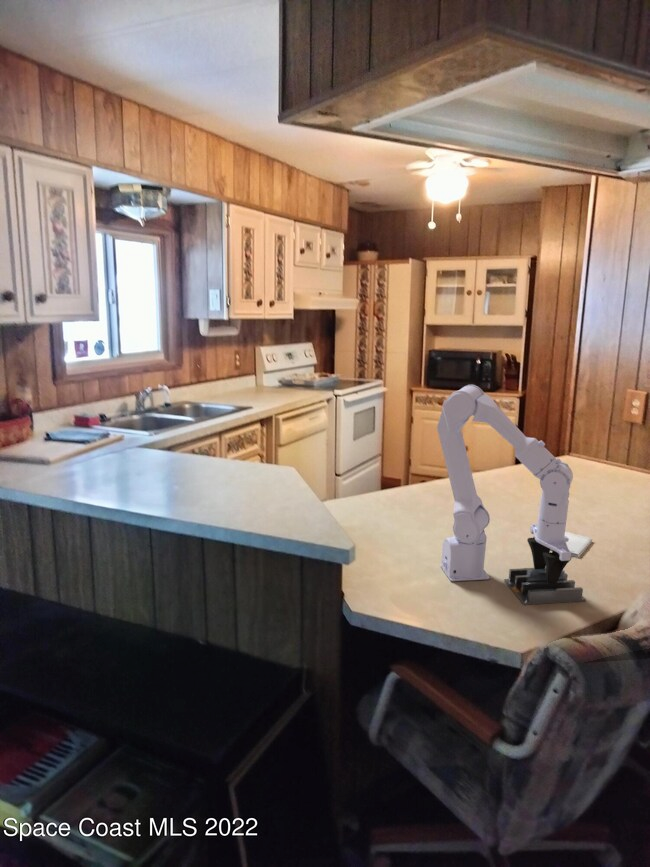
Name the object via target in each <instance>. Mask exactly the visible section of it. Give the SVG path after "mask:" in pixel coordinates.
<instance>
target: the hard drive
mask: <svg viewBox="0 0 650 867" xmlns="http://www.w3.org/2000/svg"><path fill="white" fill-rule="evenodd" d="M565 536H567V537H568V538H569V541H568V542H566V544H567V547H568V549H569V551H571V558H576V559H579V558H580V556H581V555H582V554H583V553H584V552H585V551H586V549H588V548H589V546H590V545H591V543H593V538H591V537H588V536H585V535H580V534H577V533H572V532H568V531H565ZM550 552H552V550H551V549H550Z"/></svg>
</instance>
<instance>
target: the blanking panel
mask: <svg viewBox="0 0 650 867" xmlns="http://www.w3.org/2000/svg"><path fill="white" fill-rule="evenodd" d="M565 573H566V572H565V570H564V569H563V570H562V572H561V574H560V577H559V579H558V581H564V574H565ZM546 581H547V580H546V569H533V570H527V576H526V583H528V582H546Z"/></svg>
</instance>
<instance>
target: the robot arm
mask: <svg viewBox="0 0 650 867" xmlns="http://www.w3.org/2000/svg"><path fill="white" fill-rule="evenodd" d="M472 416H473V418H472V419H471V421H472V422H478V423H486V424H488V425H489V426H490V427H491V428H492V429H493V430H495V431H496V432H497V433H498V434H499V435H500V437H502V438H504V440H505V441H507V442H508V443H509V444H510V445H511V446H512V447H513V448H514V456H515V458H516V459H517V460H518V461H519V462H520V463H521V464H522V465H523V466H524V467H525V468H526V469H527V470H528V471H529V472H530V473H531V474H532V475H534V477H535V478H537V480H539V486H540V488H541V490H542V491H541V496H540V500H539V508H538V516H537V524H535V523H534V524H530V528H529V533H530V534H532V535H533V537H527V541H526V542H527V543H528V545H529V548H530V551H531V555H532V556H531V557H532V561H533V568H534V569H545V567H546V580H547V583H557V581H558V579H559V577H560V574H561V572H562V570H564V568H565V567H566V566H567V565H568V564H569V562H571V561H572V556H571V551H569V549H568V547H567V544H566V542H568V541H569V538H568V537H567V536H565V532H566V526H567V518H568V511H569V509H568V508H569V503H570V500H569V498H570V488H571V484H572V482H573V477H574V475H573V471H572V469H571V467H570V466H569V464H568V463H566V462H564V461H562V460H561V459H560V458H559V457H558V458H556V457H555V456H554V455H553V453H551V452H550V451H549V450H548V449H547V448H546V443H545V442H544V441H543V440H542V439H541V440H538V439H537V438H536V437H528V436H526V435H525V434H524V433H523V431H521V430H520V429H519V428H518V426H517V425H516V424H515V422H513V421H512V420H511V419H510V417H508V416H507V414H506V413H505V412H504V411H503V410H502V409H501V408H500V406H498V404H497V403H495V401H494V400H493V398H492V397H491V396H490V395H489V394H487V393H484V390H483V389H482V388H480V387H479V386H477V385H476V384H467V385H465V386H462V387H461V388H460V389H459V390H456V391H454V392H452V393H450V395H448V397H447V398H446V399H445V400H444V401H443V403H442V410H441V413H440V416H439V419H438V421H437V422H438V423H437V425H436V429H437V434H438V438H439V441H440V442H439V443H440V446H441V450H442V454H443V455H442V456H443V459H444V463H445V466H446V471H447V474H448V479H449V482H450V487H451V491H452V496H453V499H454V504H453V512H452V514H453V519H454V520H453V525H452V532H453V534H454V535H453V536H450V537H445V538H444V540H443V542H442V552H441V553H442V554H441V563H440V564H439V565H440V567H441V569H442V571H443V572H444V573H445V576H447V578H448V579H449V581H450V582H461V581H465V582H466V581H481V580H484V581H485V580H490V579H491V577H490V575H489V574H488V573H487V571H486V570H485V559H486V558H485V557H486V551H487V550H486V549H487V535H486V532H485V529H486V528H487V527H489V524H490V521H491V517H490V514H489V511H488V510H487V509H486V508H485V506H484V504H483V501H482V498H481V497H480V496H479V495H478V494H477V489H476V486H475V481H474V478H473V473H472V470H471V465H470V464H471V463H470V460H469V456H468V452H467V448H466V444H465V440H464V435H463V432H462V430H463V427H464V426H465V425H466V424H467V422H468V421H469V420H470V418H471V417H472ZM550 549H551V550H552V551H551V550H550Z"/></svg>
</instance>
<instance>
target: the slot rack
mask: <svg viewBox="0 0 650 867" xmlns="http://www.w3.org/2000/svg"><path fill="white" fill-rule="evenodd" d="M533 569H534V567H527V568H526V567H524V568H509V570H508V578H504V580H503V581H504V583H505V584H506V585H507V587H509V588H510V590H511V591H512V592H513V593H514V595H515V596H516V597H517V598H518V599H519V602H521V603H522V605H524V606H529V605H548V604H564V603H565V604H566V603H581V602H587V601H586V600H587V599H586V598H585V597H584V596H583V591H584V588H583V587H580V586H578V587H577V586H576V587H575V585H576V581H575V580H574V579H569V580H568V575H569V574H568V573H566V572H565V574H564V581H557V583H547V581H546V582H528V583H526V576H527V570H533ZM545 569H546V567H545Z"/></svg>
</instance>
